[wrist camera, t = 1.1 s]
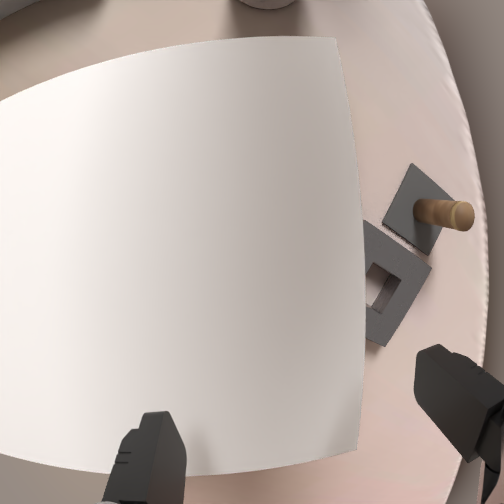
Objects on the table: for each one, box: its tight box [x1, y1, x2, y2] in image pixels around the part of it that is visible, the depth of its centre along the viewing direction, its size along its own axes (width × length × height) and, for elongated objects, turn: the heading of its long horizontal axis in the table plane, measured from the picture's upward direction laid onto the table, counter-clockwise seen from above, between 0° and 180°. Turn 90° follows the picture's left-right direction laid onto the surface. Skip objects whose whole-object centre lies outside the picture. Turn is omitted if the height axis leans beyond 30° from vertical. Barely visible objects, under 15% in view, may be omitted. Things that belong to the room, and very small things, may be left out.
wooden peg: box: [413, 199, 475, 231], centre depth 33 cm, size 3×3×9 cm
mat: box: [382, 163, 455, 256], centre depth 38 cm, size 9×9×1 cm
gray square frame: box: [363, 220, 432, 347], centre depth 38 cm, size 12×12×3 cm
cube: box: [0, 36, 366, 476], centre depth 24 cm, size 25×21×24 cm
